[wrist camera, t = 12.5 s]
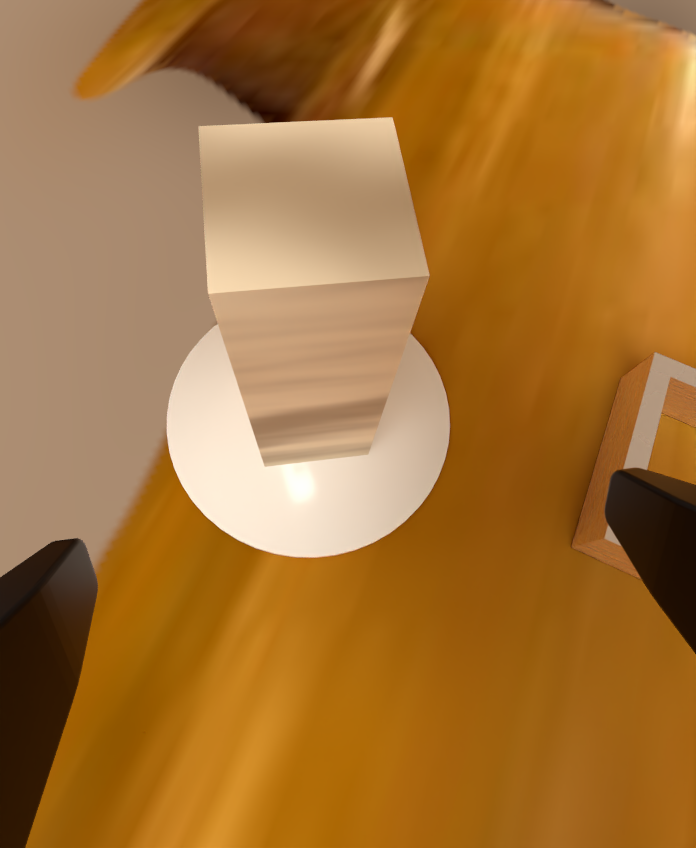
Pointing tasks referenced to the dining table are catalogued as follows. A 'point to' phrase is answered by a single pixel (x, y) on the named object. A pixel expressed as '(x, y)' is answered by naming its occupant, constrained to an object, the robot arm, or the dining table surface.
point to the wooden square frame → (632, 445)
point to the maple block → (311, 276)
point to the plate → (308, 481)
